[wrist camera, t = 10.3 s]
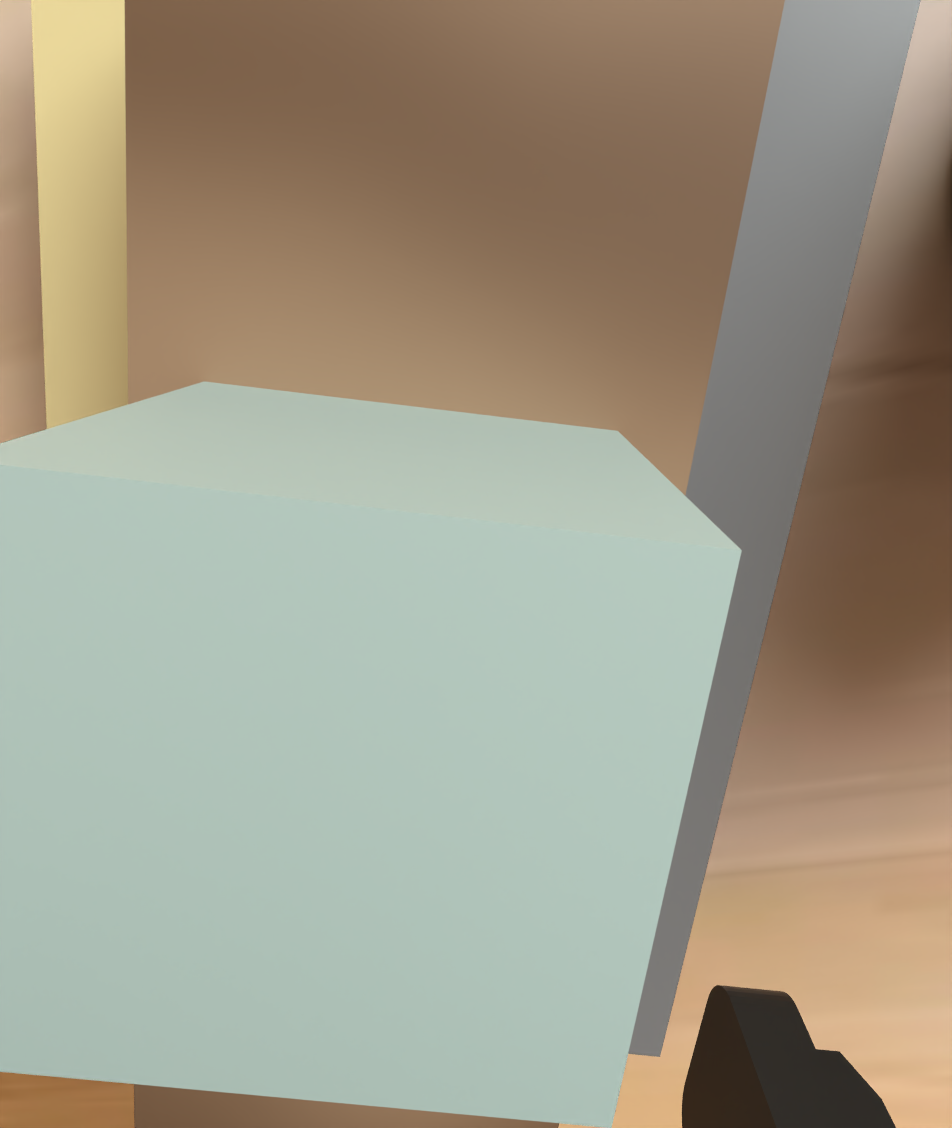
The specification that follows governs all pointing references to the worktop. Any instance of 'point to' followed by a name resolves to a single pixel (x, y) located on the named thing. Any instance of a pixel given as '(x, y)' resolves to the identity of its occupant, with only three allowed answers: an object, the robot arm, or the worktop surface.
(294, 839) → the pale green cube
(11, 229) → the worktop surface
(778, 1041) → the robot arm
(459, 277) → the board
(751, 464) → the dock
